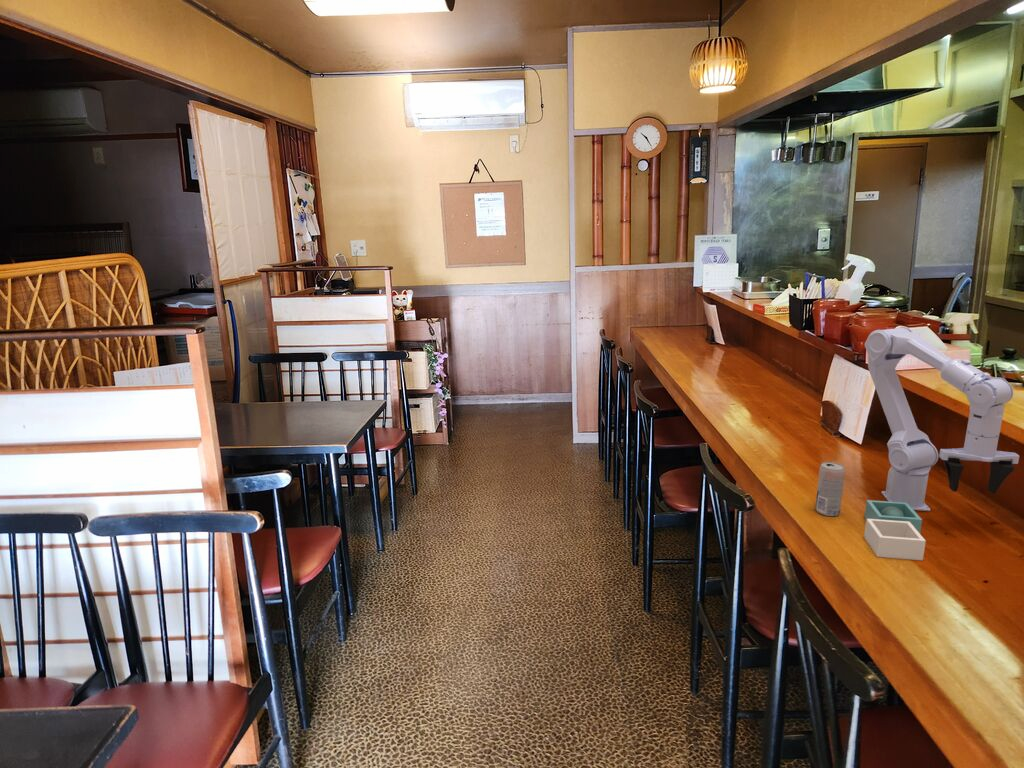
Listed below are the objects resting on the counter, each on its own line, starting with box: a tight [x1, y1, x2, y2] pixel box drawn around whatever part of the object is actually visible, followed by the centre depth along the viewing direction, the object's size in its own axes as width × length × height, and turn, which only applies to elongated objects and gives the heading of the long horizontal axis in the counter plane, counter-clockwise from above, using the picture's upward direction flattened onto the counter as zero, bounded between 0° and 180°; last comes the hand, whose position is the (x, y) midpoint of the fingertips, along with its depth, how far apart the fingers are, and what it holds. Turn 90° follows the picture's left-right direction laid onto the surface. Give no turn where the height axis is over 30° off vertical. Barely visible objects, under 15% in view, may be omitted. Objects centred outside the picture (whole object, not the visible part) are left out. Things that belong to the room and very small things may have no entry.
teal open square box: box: [864, 499, 923, 534], centre depth 143 cm, size 9×9×4 cm
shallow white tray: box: [863, 519, 927, 561], centre depth 134 cm, size 9×9×4 cm
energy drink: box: [814, 461, 846, 517], centre depth 150 cm, size 5×5×12 cm
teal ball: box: [880, 507, 905, 517], centre depth 142 cm, size 5×5×5 cm
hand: (972, 490), depth 139 cm, fingers open, 7 cm apart
